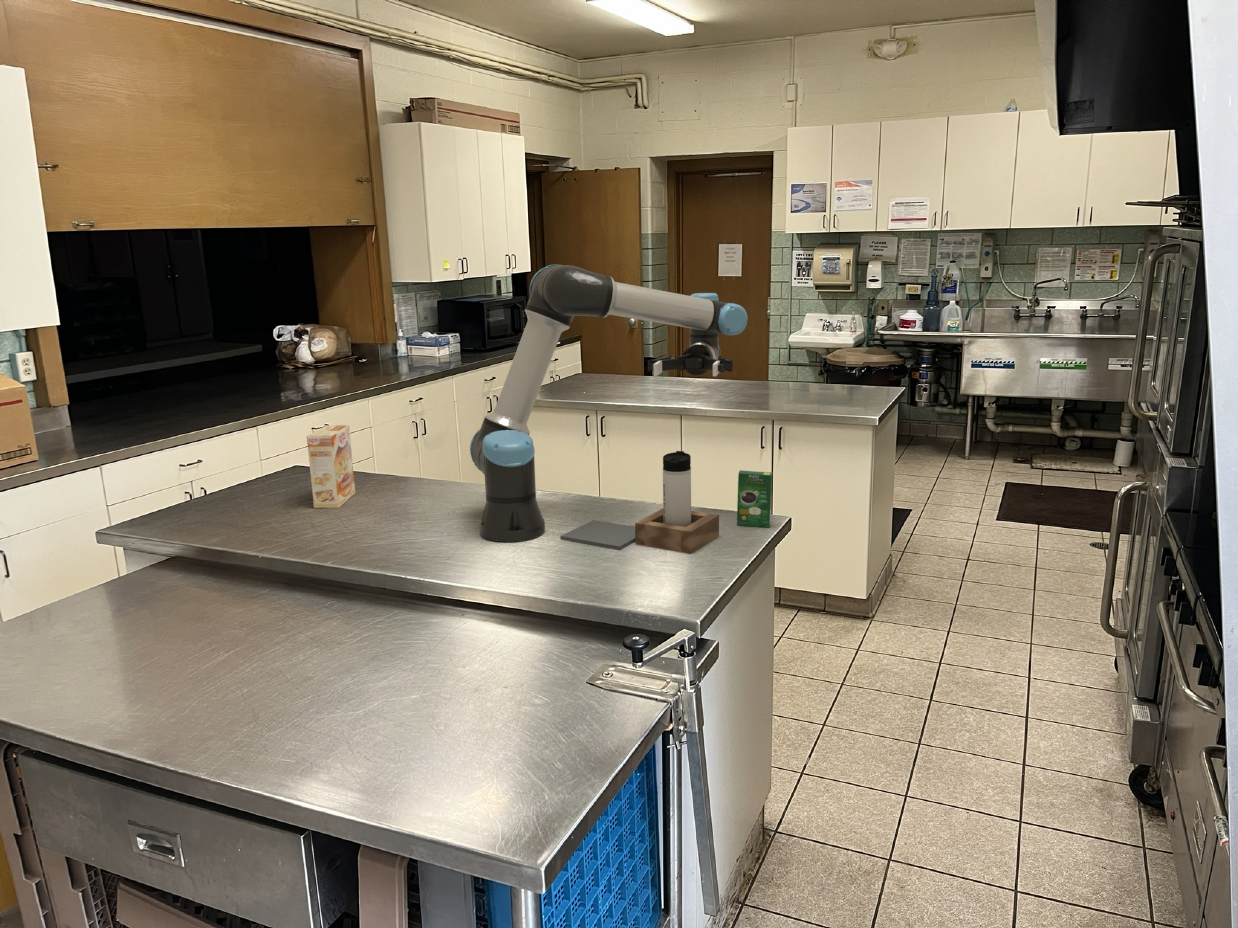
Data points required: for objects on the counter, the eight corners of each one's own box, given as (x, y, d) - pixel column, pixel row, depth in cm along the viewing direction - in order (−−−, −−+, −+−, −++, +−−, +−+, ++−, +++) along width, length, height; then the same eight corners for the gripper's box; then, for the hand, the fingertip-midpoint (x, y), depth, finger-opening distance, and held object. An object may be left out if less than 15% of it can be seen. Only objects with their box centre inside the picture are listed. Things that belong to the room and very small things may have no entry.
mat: (560, 539, 202) (560, 535, 202) (593, 523, 214) (593, 519, 213) (619, 549, 194) (619, 546, 194) (651, 532, 205) (651, 529, 205)
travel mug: (694, 536, 202) (694, 451, 197) (687, 545, 196) (686, 458, 191) (668, 534, 204) (667, 450, 199) (660, 543, 198) (659, 456, 193)
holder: (635, 544, 197) (634, 522, 196) (665, 527, 209) (665, 507, 208) (691, 553, 190) (691, 531, 189) (719, 535, 202) (719, 514, 201)
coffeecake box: (339, 508, 232) (332, 435, 227) (312, 508, 232) (304, 436, 227) (356, 493, 246) (350, 424, 242) (331, 493, 247) (324, 425, 242)
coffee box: (772, 524, 209) (773, 471, 206) (770, 528, 206) (771, 474, 203) (738, 522, 211) (738, 469, 208) (736, 526, 209) (736, 472, 206)
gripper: (748, 374, 218) (739, 387, 198) (649, 373, 224) (631, 386, 204) (748, 343, 216) (739, 353, 196) (649, 344, 222) (630, 353, 202)
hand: (684, 370), depth 200 cm, fingers open, 13 cm apart
